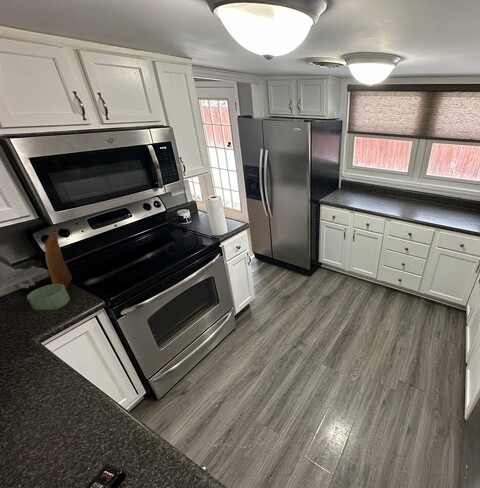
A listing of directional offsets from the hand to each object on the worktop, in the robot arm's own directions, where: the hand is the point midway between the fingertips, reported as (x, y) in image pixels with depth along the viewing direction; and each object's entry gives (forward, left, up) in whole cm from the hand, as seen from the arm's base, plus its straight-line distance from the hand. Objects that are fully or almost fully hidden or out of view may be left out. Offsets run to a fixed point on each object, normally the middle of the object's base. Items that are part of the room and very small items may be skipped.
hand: (30, 285), depth 127 cm
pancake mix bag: (+2, +13, -8) cm, 15 cm away
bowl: (+11, -4, -8) cm, 15 cm away
